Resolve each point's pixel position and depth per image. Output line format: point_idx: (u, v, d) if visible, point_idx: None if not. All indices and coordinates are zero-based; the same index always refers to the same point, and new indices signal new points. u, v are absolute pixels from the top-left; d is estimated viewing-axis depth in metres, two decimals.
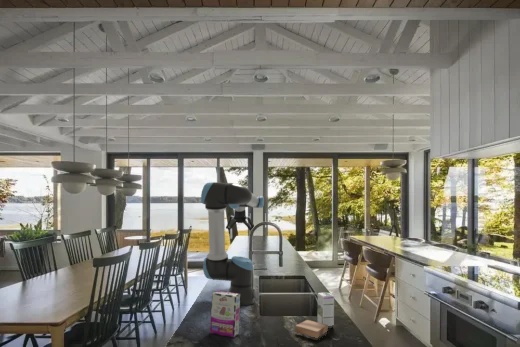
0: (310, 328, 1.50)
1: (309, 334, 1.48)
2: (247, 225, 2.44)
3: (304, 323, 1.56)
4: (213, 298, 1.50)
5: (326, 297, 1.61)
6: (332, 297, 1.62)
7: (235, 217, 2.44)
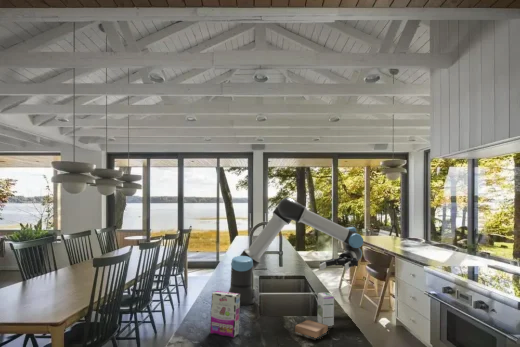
0: (310, 328, 1.50)
1: (308, 334, 1.49)
2: (349, 260, 1.88)
3: (304, 322, 1.56)
4: (213, 298, 1.50)
5: (326, 297, 1.61)
6: (332, 297, 1.62)
7: None
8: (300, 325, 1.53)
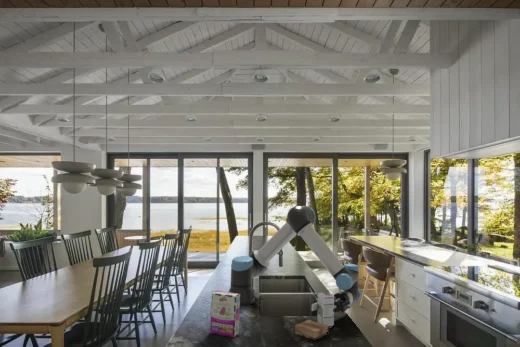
0: (309, 328, 1.50)
1: (308, 334, 1.49)
2: (339, 303, 1.66)
3: (304, 322, 1.56)
4: (213, 298, 1.50)
5: (326, 297, 1.61)
6: (332, 297, 1.62)
7: None
8: (300, 325, 1.53)
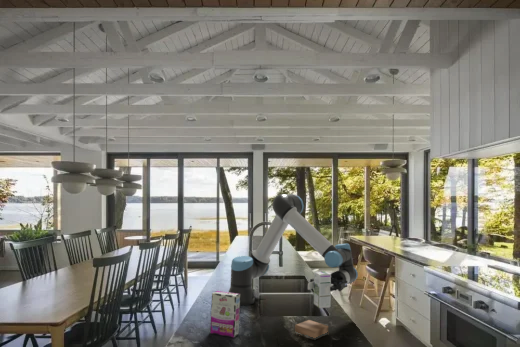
0: (309, 328, 1.50)
1: (307, 334, 1.49)
2: (336, 282, 1.62)
3: (304, 322, 1.56)
4: (213, 298, 1.50)
5: (323, 275, 1.56)
6: (329, 275, 1.57)
7: None
8: (300, 325, 1.53)
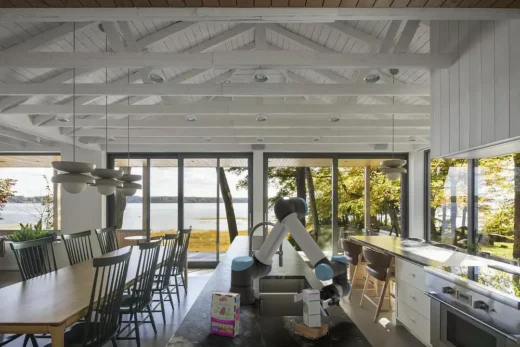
0: (309, 328, 1.50)
1: (307, 334, 1.49)
2: (331, 296, 1.57)
3: None
4: (213, 298, 1.50)
5: (311, 293, 1.52)
6: (318, 293, 1.53)
7: None
8: (300, 325, 1.53)
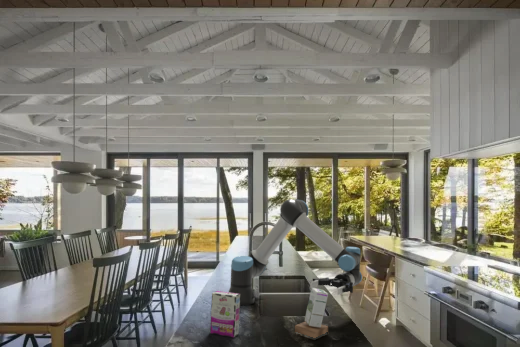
0: (309, 328, 1.50)
1: (307, 335, 1.49)
2: (345, 284, 1.67)
3: (304, 323, 1.56)
4: (213, 298, 1.50)
5: (320, 293, 1.51)
6: (326, 295, 1.52)
7: None
8: (300, 325, 1.53)
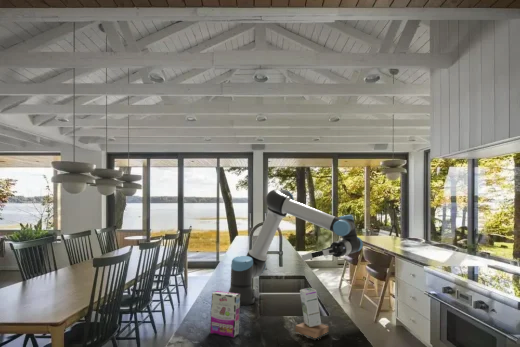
0: (309, 328, 1.50)
1: (308, 335, 1.49)
2: None
3: None
4: (213, 298, 1.50)
5: (308, 293, 1.52)
6: (314, 292, 1.53)
7: None
8: (300, 325, 1.53)
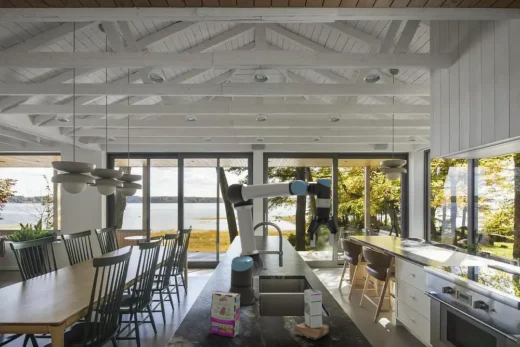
0: (310, 328, 1.50)
1: (308, 335, 1.48)
2: (314, 226, 1.96)
3: None
4: (213, 298, 1.50)
5: (313, 294, 1.51)
6: (320, 293, 1.52)
7: None
8: (300, 325, 1.53)
